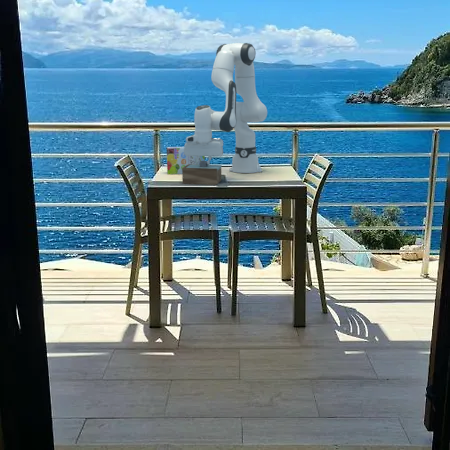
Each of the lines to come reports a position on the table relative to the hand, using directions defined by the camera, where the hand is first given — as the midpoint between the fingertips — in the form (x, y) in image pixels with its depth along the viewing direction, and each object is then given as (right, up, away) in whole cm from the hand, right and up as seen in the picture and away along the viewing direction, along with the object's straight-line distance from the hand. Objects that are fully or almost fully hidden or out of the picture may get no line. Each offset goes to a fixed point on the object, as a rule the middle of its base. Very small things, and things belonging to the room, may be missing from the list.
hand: (203, 164), depth 302 cm
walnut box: (-1, -9, +2) cm, 9 cm away
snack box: (-11, -2, +28) cm, 30 cm away
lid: (0, -2, 0) cm, 2 cm away
